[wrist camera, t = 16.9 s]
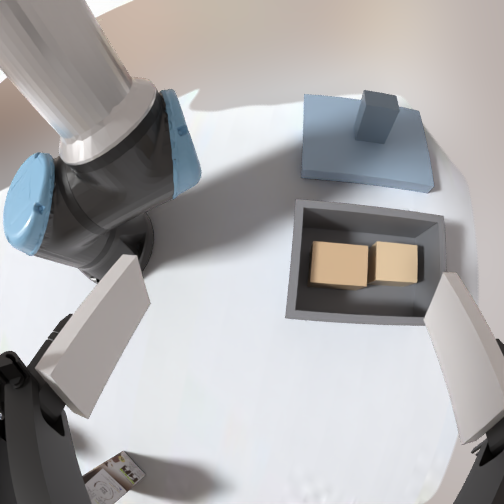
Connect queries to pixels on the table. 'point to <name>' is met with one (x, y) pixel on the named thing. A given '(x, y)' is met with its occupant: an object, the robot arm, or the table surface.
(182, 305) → the table surface
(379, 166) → the lid
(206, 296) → the table surface
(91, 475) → the coffee box
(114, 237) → the robot arm
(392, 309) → the storage box
